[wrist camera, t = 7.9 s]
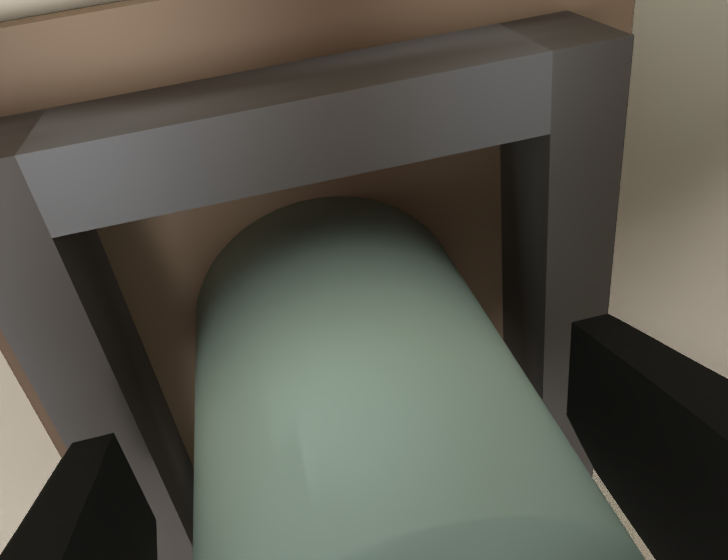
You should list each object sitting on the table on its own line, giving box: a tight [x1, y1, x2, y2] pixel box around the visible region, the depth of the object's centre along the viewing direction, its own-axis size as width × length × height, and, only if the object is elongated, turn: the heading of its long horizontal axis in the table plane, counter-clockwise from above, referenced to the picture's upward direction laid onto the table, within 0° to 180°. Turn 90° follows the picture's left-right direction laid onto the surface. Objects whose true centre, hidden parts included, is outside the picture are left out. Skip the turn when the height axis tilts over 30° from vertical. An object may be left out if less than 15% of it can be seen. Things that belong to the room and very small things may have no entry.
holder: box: [0, 0, 635, 560], centre depth 12 cm, size 12×12×3 cm
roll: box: [193, 196, 645, 560], centre depth 10 cm, size 5×5×7 cm
